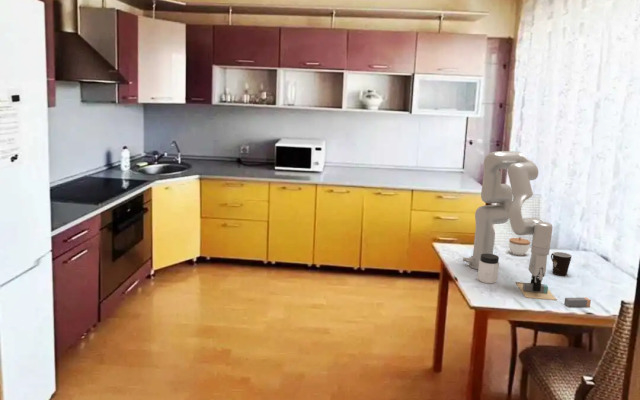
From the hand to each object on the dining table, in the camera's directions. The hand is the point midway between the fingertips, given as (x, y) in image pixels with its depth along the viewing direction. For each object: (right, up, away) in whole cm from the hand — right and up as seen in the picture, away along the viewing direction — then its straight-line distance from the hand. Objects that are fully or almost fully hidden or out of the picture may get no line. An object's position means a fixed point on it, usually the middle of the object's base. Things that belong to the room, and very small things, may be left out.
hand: (535, 289), depth 255 cm
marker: (0, -1, 0) cm, 1 cm away
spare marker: (+13, -5, -14) cm, 19 cm away
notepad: (+1, -1, +1) cm, 2 cm away
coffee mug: (+23, +3, +30) cm, 38 cm away
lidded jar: (+13, +10, +60) cm, 62 cm away
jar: (-18, +2, +13) cm, 22 cm away
